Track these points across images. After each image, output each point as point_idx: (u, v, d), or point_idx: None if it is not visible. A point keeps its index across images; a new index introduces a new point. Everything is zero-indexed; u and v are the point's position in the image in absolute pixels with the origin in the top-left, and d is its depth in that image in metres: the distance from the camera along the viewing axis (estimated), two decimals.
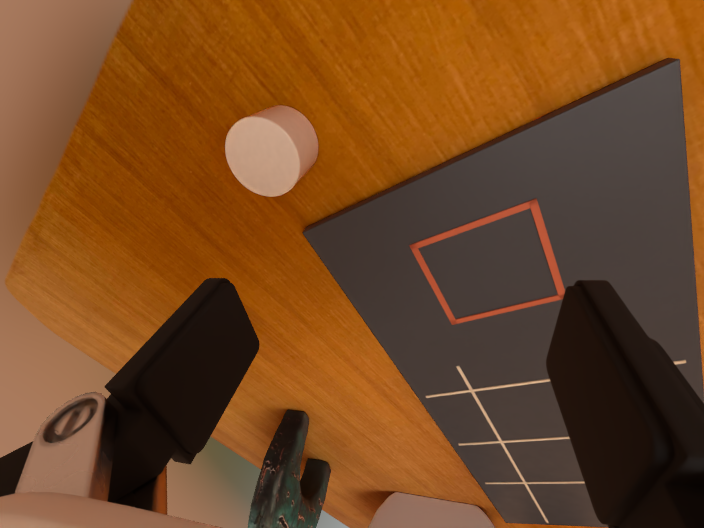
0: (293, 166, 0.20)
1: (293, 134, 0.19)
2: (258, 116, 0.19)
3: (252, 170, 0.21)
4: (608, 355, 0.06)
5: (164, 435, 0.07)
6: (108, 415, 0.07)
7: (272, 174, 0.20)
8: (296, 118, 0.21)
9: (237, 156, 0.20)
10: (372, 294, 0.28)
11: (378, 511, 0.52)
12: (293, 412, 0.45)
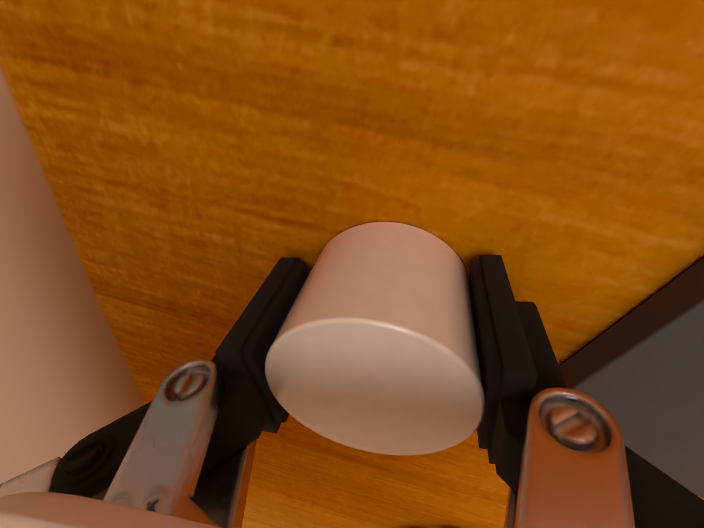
0: (457, 385, 0.06)
1: (408, 304, 0.06)
2: (299, 322, 0.06)
3: (361, 424, 0.08)
4: (480, 310, 0.07)
5: (260, 402, 0.08)
6: (219, 379, 0.07)
7: (411, 417, 0.07)
8: (385, 245, 0.08)
9: (314, 412, 0.08)
10: None
11: None
12: None
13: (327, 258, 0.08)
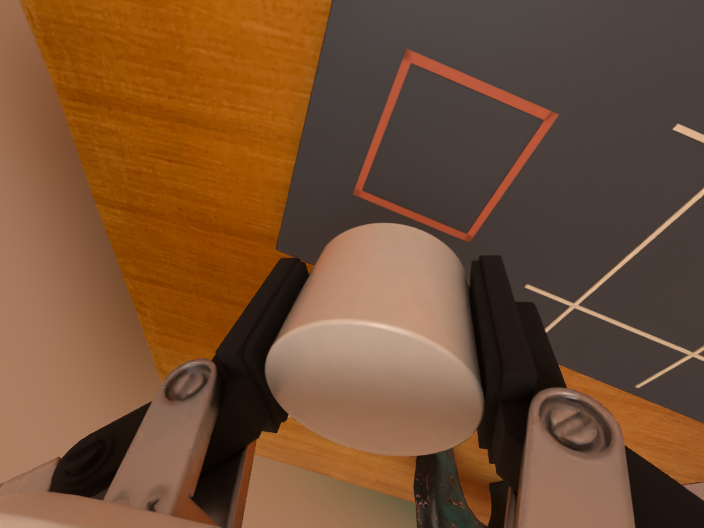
0: (457, 386, 0.06)
1: (407, 306, 0.06)
2: (299, 323, 0.06)
3: (360, 425, 0.08)
4: (480, 310, 0.07)
5: (260, 402, 0.08)
6: (219, 379, 0.07)
7: (411, 418, 0.07)
8: (385, 247, 0.08)
9: (314, 413, 0.08)
10: None
11: None
12: None
13: (327, 259, 0.08)
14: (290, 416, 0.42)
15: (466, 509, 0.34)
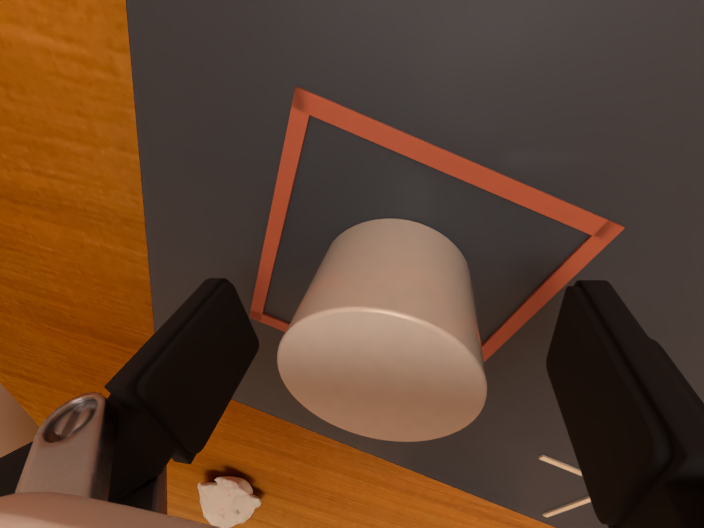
0: (460, 371, 0.07)
1: (414, 295, 0.07)
2: (311, 312, 0.07)
3: (367, 411, 0.08)
4: (608, 355, 0.06)
5: (164, 435, 0.07)
6: (108, 415, 0.07)
7: (417, 404, 0.08)
8: (391, 240, 0.08)
9: (323, 400, 0.08)
10: (298, 403, 0.16)
11: None
12: None
13: (335, 253, 0.09)
14: None
15: None
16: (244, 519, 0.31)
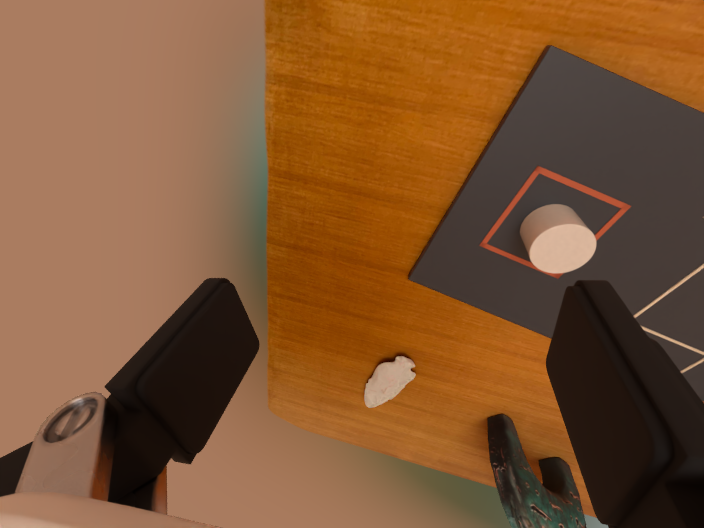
0: (590, 241, 0.26)
1: (578, 222, 0.26)
2: (550, 227, 0.26)
3: (555, 260, 0.28)
4: (608, 355, 0.06)
5: (164, 435, 0.07)
6: (108, 415, 0.07)
7: (573, 254, 0.27)
8: (562, 210, 0.28)
9: (541, 258, 0.28)
10: (481, 291, 0.36)
11: None
12: (493, 418, 0.50)
13: (542, 214, 0.28)
14: (380, 404, 0.53)
15: (533, 473, 0.44)
16: (395, 394, 0.50)
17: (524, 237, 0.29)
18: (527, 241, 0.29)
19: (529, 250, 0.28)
